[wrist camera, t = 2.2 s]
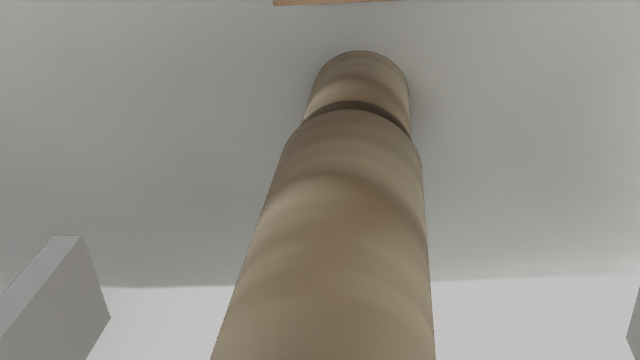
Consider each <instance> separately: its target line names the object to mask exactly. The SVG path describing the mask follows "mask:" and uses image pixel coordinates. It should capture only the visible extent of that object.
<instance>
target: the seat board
mask: <svg viewBox="0 0 640 360" xmlns="http://www.w3.org/2000/svg"><path fill="white" fill-rule="evenodd" d="M372 1H394V0H273V6H286V5H308V4H329V3H351V2H372Z"/></svg>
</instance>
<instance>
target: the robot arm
mask: <svg viewBox="0 0 640 360" xmlns="http://www.w3.org/2000/svg"><path fill="white" fill-rule="evenodd" d="M110 318H111V317H110V315H109V312H108V309H107V306H106V303H105V301H104V298H103V295H102V292H101V289H100V286H99V283H98V280H97V277H96V275H95V272H94V269H93V266H92V263H91V260H90V257H89V255H88V252H87V249H86V246H85V243H84V240H83V237H82V236H71V235H53V236H52V237H51V238H50V240H49V241H48V242H47V243H46V244H45V245H44V247H43V248H42V249H41V250H40V251H39V252H38V253H37V255H36V256H35V257H34V258H33V259H32V260H31V262H30V263H29V264H28V265H27V266H26V267H25V268H24V270H23V271H22V272H21V273H20V274H19V275H18V277H17V278H16V279H15V280H14V281H13V282H12V283H11V285H10V286H9V287H8V288H7V289H6V290H5V292H4V293H3V294H2V295H1V296H0V360H85V359H86V358H87V356H88V354H89V353H90V351H91V349H92V348H93V346H94V344H95V343H96V341H97V339H98V338H99V336H100V334H101V333H102V331H103V329H104V327H105V326H106V325H107V323H108V321H109V320H110ZM626 339H627V341H628V343H629V346H630V348H631V350H632V353H633V355H634V357H635V360H640V288H639V292H638V296H637V299H636V303H635V307H634V310H633V314H632V318H631V321H630V325H629V329H628V332H627V336H626Z"/></svg>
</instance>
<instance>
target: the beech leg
mask: <svg viewBox="0 0 640 360" xmlns="http://www.w3.org/2000/svg"><path fill="white" fill-rule="evenodd" d="M211 360H436V358H435V342H434V329H433V315H432V301H431V287H430V273H429V260H428V246H427V232H426V218H425V204H424V191H423V177H422V165H421V161H420V157H419V154H418V152H417V149H416V148H415V146H414V144H413V142H412V140H411V135H410V112H409V92H408V86H407V83H406V80H405V78H404V76H403V74H402V72H401V71H400V70H399V68H398V67H397V66H396V65H395V64H394V63H393V62H391V61H390V60H389V59H387V58H385V57H384V56H382V55H379V54H377V53H373V52H368V51H352V52H347V53H344V54H341V55H339V56H337V57H335V58H333V59H332V60H330V61H329V62H328V63H327V64H326V65H325V66H324V67H323V68H322V69H321V71H320V72H319V74H318V75H317V78H316V80H315V83H314V86H313V89H312V92H311V95H310V99H309V102H308V105H307V108H306V111H305V114H304V117H303V121H302V124H301V125H300V126H299V128H298V129H297V130H296V131H295V132H294V133H293V134H292V135H291V136H290V138H289V139H288V141H287V143H286V144H285V147H284V149H283V151H282V154H281V157H280V160H279V163H278V166H277V168H276V171H275V174H274V177H273V180H272V183H271V186H270V189H269V191H268V194H267V197H266V200H265V203H264V206H263V209H262V212H261V214H260V217H259V220H258V223H257V226H256V229H255V232H254V234H253V237H252V240H251V243H250V246H249V249H248V252H247V255H246V257H245V260H244V263H243V266H242V269H241V272H240V275H239V278H238V280H237V283H236V286H235V289H234V292H233V295H232V298H231V301H230V303H229V306H228V309H227V312H226V315H225V318H224V321H223V324H222V327H221V329H220V332H219V335H218V338H217V341H216V344H215V346H214V349H213V352H212V355H211Z"/></svg>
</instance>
